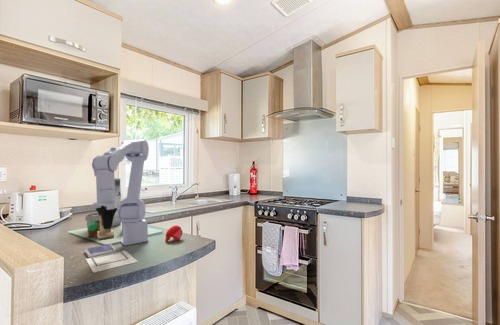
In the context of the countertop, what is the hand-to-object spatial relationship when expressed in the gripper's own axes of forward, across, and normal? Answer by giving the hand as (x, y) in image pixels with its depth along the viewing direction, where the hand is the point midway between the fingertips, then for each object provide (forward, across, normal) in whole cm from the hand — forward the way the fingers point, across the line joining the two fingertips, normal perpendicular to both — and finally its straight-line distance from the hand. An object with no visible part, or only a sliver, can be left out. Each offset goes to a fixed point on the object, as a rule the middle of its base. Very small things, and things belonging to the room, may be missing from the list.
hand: (106, 227), depth 96 cm
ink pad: (+10, -9, -1) cm, 14 cm away
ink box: (+10, -40, +17) cm, 45 cm away
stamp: (+3, 0, 0) cm, 4 cm away
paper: (+10, +4, 0) cm, 11 cm away
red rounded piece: (+11, -5, +26) cm, 29 cm away
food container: (+11, -39, +1) cm, 40 cm away
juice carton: (+10, -59, +12) cm, 61 cm away
